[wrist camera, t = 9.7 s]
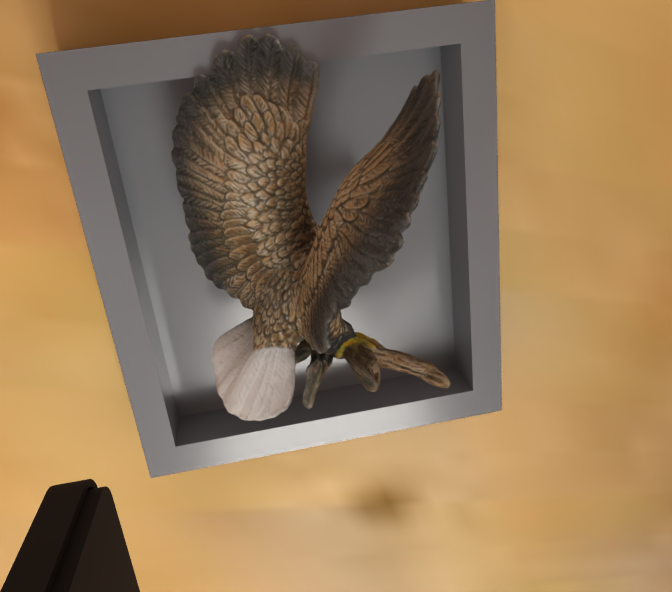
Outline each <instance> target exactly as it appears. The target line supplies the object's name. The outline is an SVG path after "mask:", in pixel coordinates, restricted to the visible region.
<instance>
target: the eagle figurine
mask: <svg viewBox="0 0 672 592" xmlns="http://www.w3.org/2000/svg"><path fill="white" fill-rule="evenodd" d="M319 73H320V70H319V65H318V64H317V63H316V62H314V61H306V60H304V58H303V55H302V54H301V51H300V49H299V48H298V47H297V46H295V45H293V46H287V47H284V48H282V46H281V43H280V41H279V39H278V38H277V37H276V36H274V35H273V34H269V33H268V34H264V36H263V37H261V38H260V39H257V38H256V37H255V36H253V35H250V34H247V35H245V36H243V37H242V38H240V40H239V42H238V44H237V46H236V48H235V49H234V51H232V52H230V51H229V50H227V49H224V50H221V51H220V52H219V53H218V54H217V55H216V57H215V59H214V62H213V65H212V71H211V77H207V76H205V75H204V74H200V75H198V76H197V77H196V78H195V80H194V91H193V93H192V94H191V93H187V94H185V95H184V97H183V98H182V99H181V105H180V108H179V110H178V113H177V117H176V121H177V125H176V126H175V128H174V130H173V131H172V140H173V144H174V148H173V150H172V152H171V156H172V161H173V163H174V165H175V167H176V169H177V170H176V179H177V188H178V191H179V193H180V195H181V197H182V198H183V199H184V201H183V203H182V207H183V210H184V213H185V222H186V225H187V227H188V228H189V230H190V233H189V235H188V239H189V241H190V243H191V245H190V248H191V251H192V252H193V253H194V255H195V257H196V261H197V263H198V264H199V265H200V266H201V267H202V268H203V270H204V273H205V276H206V278H207V279H208V280H211V281H213V283H214V285H215V286H216V287H217V288H218V289H223V290H225V291H227V293H228V294H229V295H230V296H231V297H232V298H235V299H240V302H241V304H242V306H243V307H244V308H248V309H252V310H253V316H252V317H251V318H249V319H247V320H245V321H244V322H243V323H240V324H239V325H237V326H236V327H234V328H233V329H231V330H229V331H227V332H225V333H224V334H223V335H221V336H220V337H219V338H218V339H217V340H216V341H215V344H214V347H213V354H212V363H213V366H214V373H215V375H216V389H217V392H218V394H219V396H220V397H221V398H222V400H223V403H224V406H225V407H226V409H227V411H228V412H229V413H231V414H233V415H235V416H238V417H239V418H240V419H242V420H248V421H252V420H257V421H262V420H265V419H269V418H274V417H276V416H278V415H279V414H280V413H281V412H284V411H285V410H286V409H288V407H289V405H290V404H291V402H292V398H293V395H294V389H295V366H296V364H297V363H300V362H302V361H304V360H306V359H307V358H308V357H309V356H310V355H311V362H310V364H309V365H308V367H307V369H306V383H305V389H304V392H303V398H302V401H303V405H304V406H305V407H306V408H307V409H311V408H312V407H313V404H314V400H315V395H316V392H317V390H318V387H319V385H320V383H321V381H322V378H323V376H324V374H325V373H326V371H327V370H328V369H329V367H330V366H331V365H332V361H333V357H335V358H337V359H345V360H346V361H347V362H348V364H349V366H350V367H351V369H352V370H353V372H354V373H355V375H356V376H357V378H358V379H359V380H360V382H361V383H362V384H363V386H364V387H365V388H366V390H367V391H370V392H375V391H377V390H378V388H379V384H380V370H379V367H382V368H387V369H392V370H396V371H401V372H405V373H408V374H411V375H415V376H417V377H419V378H421V379H422V380H424V381H425V382H427V383H429V384H431V385H434V386H437V387H441V388H448V387H450V385H451V382H450V380H449V378H448V377H447V376H446V375H445V374H444V373H443V372H441V371H440V370H439V369H438V368H437V367H435V366H434V365H433V364H432V363H430V362H427V361H422V360H420V359H417V358H415V357H413V356H411V355H409V354H406V353H404V352H401V351H397V350H391V349H387V348H385V347H384V346H383V345H382V344H380V343H379V342H378V341H377V340H375V339H373V338H369V337H368V336H366V335H364V334H363V333H360V332H354V329H353V328H352V325H351V324H350V323H348V322H347V321H345V320H344V319H342V314H341V310H342V309H344V308H348V307H349V306H350V305H351V300H352V299H353V297H354V296H355V295H356V294H357V292H358V290H359V288H360V287H362V286H365V285H368V284H369V283H370V281H371V278H372V275H373V274H374V273H375V272H379V271H382V270H385V269H386V268H387V267H389V266H390V265H391V264H392V263H393V261H394V256H395V253H396V252H398V251H399V250H400V249H401V248H402V245H403V243H404V239H403V236H402V232H403V231H405V230H406V229H407V228H408V227H409V226H410V225H411V214H412V212H413V211H414V210H415V209H416V207H417V206H418V203H419V199H420V195H421V192H422V190H423V187H424V184H425V182H426V180H427V178H428V173H429V170H430V168H431V165H432V163H433V161H434V158H435V156H436V153H437V150H438V148H437V145H436V143H437V139H438V133H439V129H440V125H441V121H440V118H439V108H440V105H441V93H440V92H439V91H438V88H439V82H440V73H439V71H438V69H435V70H434V71H433V72H432V73H431V75H429V74H426V75H425V76H424V77H423V78H421V80H420V82H419V84H418V86H417V85H414V87H413V88H412V90H411V92H410V94H409V96H408V98H407V100H406V102H405V104H404V106H403V108H402V110H401V111H400V113H399V114H398V116H397V118H396V119H395V121H394V122H393V124H392V125H391V126H390V127H389V129H388V130H387V132H386V133H385V135H384V136H383V138H382V139H381V140H380V141H379V142H378V143H377V144H376V145H375V146H374V148H373V149H372V150H371V151H370V152H369V153H367V154H366V155H365V156H364V157H363V158H362V159H361V160H360V161H359V162H358V163H357V164H356V165H355V166H354V167H353V168H352V170H351V171H350V172H349V174H348V175H347V176H346V177H345V178H344V180H343V182H342V183H341V185H340V186H339V188H338V190H337V192H336V194H335V196H334V198H333V200H332V202H331V204H330V206H329V208H328V210H327V212H326V214H325V216H324V217H323V219H322V221H321V224H320V226H319V225H318V224H317V223H316V221H315V220H314V218H313V216H312V214H311V211H310V208H309V202H308V199H307V194H306V140H307V134H308V130H309V127H310V122H311V118H312V115H313V111H314V102H315V99H316V95H317V91H318V86H319ZM298 343H299V345H298Z"/></svg>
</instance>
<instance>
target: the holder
mask: <svg viewBox="0 0 672 592" xmlns="http://www.w3.org/2000/svg"><path fill="white" fill-rule="evenodd" d="M268 33H269V34H273V35H274V36H276V37H277V38H278V39H279V41H280V43H281V46H282V48H284V47H287V46H293V45H295V46H297V47H298V48H299V49H300V51H301V54H302V55H303V58H304V60H306V61H314V62H316V63H317V64H318V65H319V70H320V73H319V86H318V91H317V95H316V99H315V102H314V111H313V115H312V118H311V122H310V127H309V130H308V134H307V140H306V194H307V199H308V202H309V208H310V211H311V214H312V216H313V218H314V220H315V221H316V223H317V224H318V225H319V226H320V224H321V221H322V219H323V217H324V216H325V214H326V212H327V210H328V208H329V206H330V204H331V202H332V200H333V198H334V196H335V194H336V192H337V190H338V188H339V186H340V185H341V183H342V182H343V180H344V178H345V177H346V176H347V175H348V174H349V172H350V171H351V170H352V168H353V167H354V166H355V165H356V164H357V163H358V162H359V161H360V160H361V159H362V158H363V157H364V156H365V155H366V154H367V153H369V152H370V151H371V150H372V149H373V148H374V146H375V145H376V144H377V143H378V142H379V141H380V140H381V139H382V138H383V136H384V135H385V133H386V132H387V130H388V129H389V127H390V126H391V125H392V124H393V122H394V121H395V119H396V118H397V116H398V114H399V113H400V111H401V110H402V108H403V106H404V104H405V102H406V100H407V98H408V96H409V94H410V92H411V90H412V88H413V87H414V85H417V86H418V84H419V82H420V80H421V78H423V77H424V76H425V75H426V74H429V75H431V73H432V72H433V71H434V70H435V69H438V71H439V73H440V82H439V88H438V91H439V92H440V93H441V105H440V108H439V118H440V121H441V125H440V129H439V133H438V139H437V143H436V145H437V148H438V150H437V153H436V156H435V158H434V161H433V163H432V165H431V168H430V170H429V173H428V178H427V180H426V182H425V184H424V187H423V190H422V192H421V195H420V199H419V203H418V206H417V207H416V209H415V210H414V211H413V212H412V214H411V225H410V226H409V227H408V228H407V229H406V230H405V231H403V232H402V236H403V239H404V243H403V245H402V248H401V249H400V250H399V251H398V252H396V253H395V256H394V261H393V263H392V264H391V265H390V266H389V267H387V268H386V269H385V270H382V271H379V272H375V273H374V274H373V275H372V278H371V281H370V283H369V284H368V285H365V286H362V287H360V288H359V290H358V292H357V294H356V295H355V296H354V297H353V299H352V300H351V305H350V306H349V307H348V308H344V309H342V310H341V314H342V319H344V320H345V321H347V322H348V323H350V324H351V325H352V328H353V329H354V332H360V333H363V334H364V335H366V336H368V337H369V338H373V339H375V340H377V341H378V342H379V343H380V344H382V345H383V346H384V347H385V348H387V349H391V350H397V351H401V352H404V353H406V354H409V355H411V356H413V357H415V358H417V359H420V360H422V361H427V362H430V363H432V364H433V365H434V366H435V367H437V368H438V369H439V370H440V371H441V372H443V373H444V374H445V375H446V376H447V377H448V378H449V380H450V382H451V385H450V387H448V388H441V387H437V386H434V385H431V384H429V383H427V382H425V381H424V380H422V379H421V378H419V377H417V376H415V375H411V374H408V373H405V372H401V371H396V370H392V369H387V368H382V367H379V370H380V384H379V388H378V390H377V391H375V392H370V391H367V390H366V388H365V387H364V386H363V384H362V383H361V382H360V380H359V379H358V378H357V376H356V375H355V373H354V372H353V370H352V369H351V367H350V366H349V364H348V362H347V361H346V360H345V359H337V358H335V357H333V361H332V365H331V366H330V367H329V369H328V370H327V371H326V373H325V374H324V376H323V378H322V381H321V383H320V385H319V387H318V390H317V392H316V395H315V400H314V404H313V407H312V408H311V409H307V408H306V407H305V406H304V405H303V401H302V398H303V392H304V389H305V383H306V369H307V367H308V365H309V364H310V362H311V355H310V356H309V357H308V358H307V359H306V360H304V361H302V362H300V363H297V364H296V366H295V389H294V395H293V398H292V402H291V404H290V405H289V407H288V409H286V410H285V411H284V412H281V413H280V414H279V415H278V416H276V417H274V418H269V419H265V420H262V421H257V420H252V421H248V420H242V419H240V418H239V417H238V416H235V415H233V414H231V413H229V412H228V411H227V409H226V407H225V406H224V403H223V400H222V398H221V397H220V396H219V394H218V392H217V389H216V375H215V373H214V366H213V363H212V354H213V347H214V344H215V341H216V340H217V339H218V338H219V337H220V336H221V335H223V334H224V333H225V332H227V331H229V330H231V329H233V328H234V327H236V326H237V325H239V324H240V323H243V322H244V321H245V320H247V319H249V318H251V317H252V316H253V310H252V309H248V308H244V307H243V306H242V304H241V302H240V299H235V298H232V297H231V296H230V295H229V294H228V293H227V291H225V290H223V289H218V288H217V287H216V286H215V285H214V283H213V281H211V280H208V279H207V278H206V276H205V273H204V270H203V268H202V267H201V266H200V265H199V264H198V263H197V261H196V257H195V255H194V253H193V252H192V251H191V248H190V245H191V243H190V241H189V239H188V235H189V233H190V230H189V228H188V227H187V225H186V222H185V213H184V210H183V207H182V203H183V201H184V199H183V198H182V197H181V195H180V193H179V191H178V188H177V179H176V170H177V169H176V167H175V165H174V163H173V161H172V156H171V152H172V150H173V148H174V144H173V140H172V131H173V130H174V128H175V126H176V125H177V121H176V117H177V113H178V110H179V108H180V105H181V99H182V98H183V97H184V95H185V94H187V93H191V94H192V93H193V91H194V80H195V78H196V77H197V76H198V75H200V74H204V75H205V76H207V77H211V71H212V65H213V62H214V59H215V57H216V55H217V54H218V53H219V52H220V51H221V50H224V49H227V50H229V51H230V52H232V51H234V49H235V48H236V46H237V44H238V42H239V40H240V38H242V37H243V36H245V35H247V34H250V35H253V36H255V37H256V38H257V39H260V38H261V37H263V36H264V34H268ZM36 57H37V61H38V64H39V68H40V72H41V75H42V79H43V83H44V87H45V90H46V94H47V98H48V101H49V105H50V109H51V112H52V116H53V120H54V123H55V127H56V131H57V134H58V138H59V142H60V145H61V149H62V153H63V156H64V160H65V164H66V167H67V171H68V175H69V178H70V182H71V186H72V190H73V193H74V197H75V201H76V204H77V208H78V212H79V215H80V219H81V223H82V226H83V230H84V234H85V237H86V241H87V245H88V248H89V252H90V256H91V259H92V263H93V267H94V270H95V274H96V278H97V281H98V285H99V289H100V293H101V296H102V300H103V304H104V307H105V311H106V315H107V318H108V322H109V326H110V329H111V333H112V337H113V340H114V344H115V348H116V351H117V355H118V359H119V362H120V366H121V370H122V373H123V377H124V381H125V385H126V388H127V392H128V396H129V399H130V403H131V407H132V410H133V414H134V418H135V421H136V425H137V429H138V432H139V436H140V440H141V443H142V447H143V451H144V454H145V458H146V462H147V465H148V469H149V473H150V476H151V478H154V477H159V476H164V475H170V474H175V473H180V472H185V471H190V470H196V469H201V468H206V467H211V466H216V465H221V464H227V463H232V462H237V461H242V460H247V459H252V458H258V457H263V456H268V455H273V454H278V453H284V452H289V451H294V450H299V449H304V448H309V447H315V446H320V445H325V444H330V443H335V442H341V441H346V440H351V439H356V438H361V437H366V436H372V435H377V434H382V433H387V432H392V431H397V430H403V429H408V428H413V427H418V426H423V425H429V424H434V423H439V422H444V421H449V420H454V419H460V418H465V417H470V416H475V415H480V414H485V413H491V412H496V411H501V410H502V395H501V335H500V275H499V215H498V155H497V95H496V35H495V0H486V1H477V2H469V3H460V4H452V5H444V6H435V7H427V8H418V9H410V10H401V11H393V12H385V13H376V14H368V15H359V16H351V17H342V18H334V19H326V20H317V21H309V22H300V23H292V24H284V25H275V26H267V27H258V28H250V29H241V30H233V31H225V32H216V33H208V34H199V35H191V36H182V37H174V38H166V39H157V40H149V41H140V42H132V43H123V44H115V45H107V46H98V47H90V48H81V49H73V50H64V51H56V52H48V53H39V54H36ZM298 345H299V343H298Z"/></svg>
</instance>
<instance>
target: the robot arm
mask: <svg viewBox="0 0 672 592" xmlns="http://www.w3.org/2000/svg"><path fill="white" fill-rule="evenodd" d="M0 592H140V590H139V587H138V583H137V580H136V576H135V573H134V570H133V566H132V563H131V559H130V556H129V552H128V549H127V545H126V542H125V539H124V535H123V532H122V528H121V525H120V521H119V518H118V514H117V511H116V508H115V504H114V501H113V497H112V494H111V491H110V490H109V488H108V487H100V488H97V485H96V483H95V482H94V480H92V479H87V480H82V481H76V482H71V483H65V484H59V485H54V486H51V487H50V488H49V489H48V490H47V492H46V494H45V496H44V499H43V501H42V503H41V505H40V507H39V509H38V512H37V514H36V516H35V518H34V520H33V522H32V524H31V527H30V529H29V531H28V533H27V535H26V537H25V540H24V542H23V544H22V546H21V548H20V550H19V553H18V555H17V557H16V559H15V561H14V563H13V566H12V568H11V570H10V572H9V574H8V576H7V578H6V581H5V583H4V585H3V587H2V589H1V591H0Z"/></svg>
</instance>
